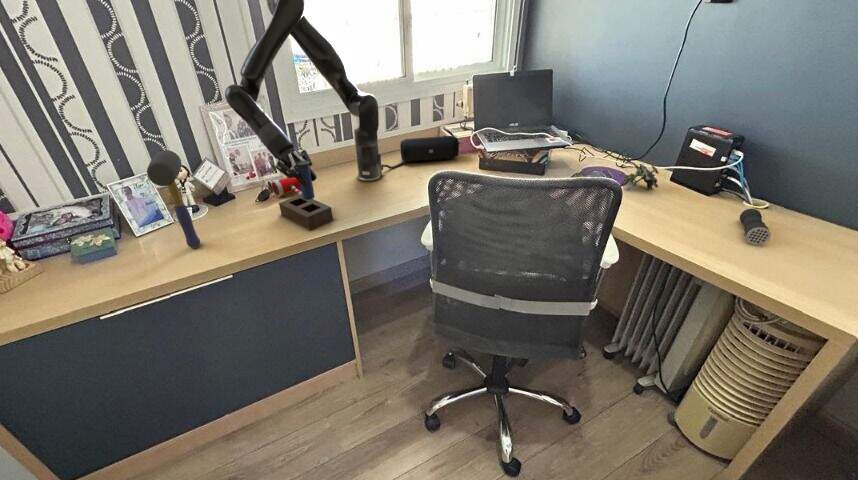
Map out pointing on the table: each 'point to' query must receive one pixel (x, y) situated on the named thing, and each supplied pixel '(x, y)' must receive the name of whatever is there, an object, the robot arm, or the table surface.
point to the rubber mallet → (173, 190)
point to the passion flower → (645, 175)
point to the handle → (305, 171)
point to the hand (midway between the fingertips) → (310, 181)
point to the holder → (306, 212)
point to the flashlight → (754, 227)
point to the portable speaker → (429, 148)
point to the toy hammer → (285, 186)
